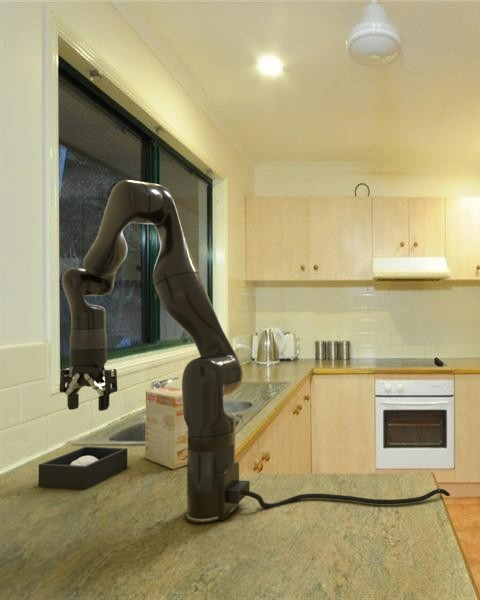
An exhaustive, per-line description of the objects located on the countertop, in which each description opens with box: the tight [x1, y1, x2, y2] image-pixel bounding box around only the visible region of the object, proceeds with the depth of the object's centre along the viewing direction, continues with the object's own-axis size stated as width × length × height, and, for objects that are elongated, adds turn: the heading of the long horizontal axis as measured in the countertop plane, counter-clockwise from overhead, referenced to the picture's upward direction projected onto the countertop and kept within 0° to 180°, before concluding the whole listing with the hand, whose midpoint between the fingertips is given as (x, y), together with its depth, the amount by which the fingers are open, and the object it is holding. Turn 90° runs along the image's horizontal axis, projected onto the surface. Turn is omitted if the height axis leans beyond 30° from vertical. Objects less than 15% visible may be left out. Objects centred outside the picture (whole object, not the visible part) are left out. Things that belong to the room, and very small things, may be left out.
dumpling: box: [70, 456, 98, 466], centre depth 102 cm, size 7×5×4 cm
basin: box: [38, 446, 128, 491], centre depth 102 cm, size 13×13×5 cm
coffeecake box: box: [144, 386, 188, 470], centre depth 114 cm, size 15×7×20 cm, turn 58°
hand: (88, 409), depth 103 cm, fingers open, 8 cm apart
